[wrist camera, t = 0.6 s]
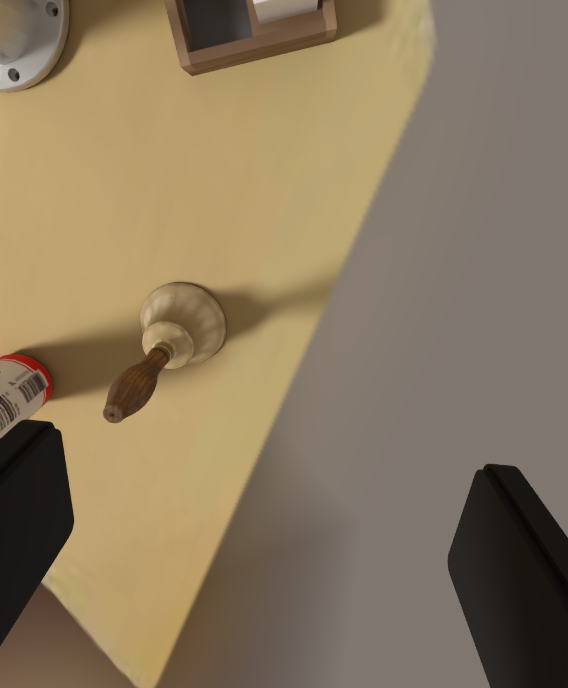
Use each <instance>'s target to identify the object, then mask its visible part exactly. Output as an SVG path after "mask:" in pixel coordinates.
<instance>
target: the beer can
mask: <svg viewBox="0 0 568 688" xmlns="http://www.w3.org/2000/svg"><path fill="white" fill-rule="evenodd" d="M52 389H53V388H52V380H51V378H50V376H49V374H48V372H47V370H46V369H45V368H44V367H43V366H42V365H41V364H40V363H39V362H37V361H36V360H34V359H32V358H30V357H27V356H25V355H19V354H10V355H5V356H2V357H0V438H1V437H3V436H4V435H5V434H6V433H7V432H8V431H9V430H10V429H11V428H13V427H14V426H15V425H16V424H17V423H18V422H20V421H21V420H25V419H27V420H28V419H29V418H30V417H31V416H32V415H34V414H35V413H36V412H37V411H38V410H39V409H40V408H41V407H42V406H43V405H44V404H45V403H46V402H47V401H48V399H49V398H50V396H51V393H52Z"/></svg>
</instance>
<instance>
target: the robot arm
mask: <svg viewBox="0 0 568 688" xmlns="http://www.w3.org/2000/svg"><path fill="white" fill-rule="evenodd" d="M57 10H58V14H57V15H56V11H57ZM68 26H69V0H0V92H14V91H20V90H24V89H26V88H28V87H31V86H33V85H35V84H37V83H38V82H39V81H41V80H42V79H43V78H44V77H46V76H47V75H48V74H49V72H50V71H51V70H52V68H53V67H54V66H55V65H56V63H57V61H58V59H59V57H60V55H61V53H62V51H63V49H64V45H65V41H66V37H67V33H68ZM19 75H20V78H19V77H18V76H19ZM73 525H74V515H73V508H72V501H71V495H70V488H69V481H68V475H67V468H66V461H65V455H64V448H63V441H62V435H61V432H60V430H58V429H55V427H54V425H53V423H51V422H48V421H37V420H27V419H25V420H21V421H20V422H18V423H17V424H16V425H15V426H14V427H13V428H11V429H10V430H9V431H8V432H7V433H6V434H5V435H4V436H3V437H1V438H0V646H1V644H2V642H3V641H4V639H5V638H6V636H7V635H8V633H9V631H10V630H11V628H12V627H13V625H14V623H15V622H16V620H17V619H18V617H19V616H20V614H21V612H22V611H23V609H24V608H25V606H26V604H27V603H28V601H29V600H30V598H31V596H32V595H33V593H34V592H35V590H36V589H37V587H38V585H39V584H40V582H41V581H42V579H43V578H44V576H45V574H46V573H47V571H48V570H49V568H50V566H51V565H52V563H53V562H54V560H55V558H56V557H57V555H58V554H59V552H60V551H61V549H62V547H63V546H64V544H65V543H66V541H67V539H68V538H69V536H70V534H71V532H72V529H73ZM448 570H449V573H450V576H451V579H452V582H453V585H454V587H455V590H456V593H457V596H458V598H459V601H460V604H461V607H462V609H463V612H464V615H465V618H466V621H467V623H468V626H469V629H470V632H471V635H472V637H473V640H474V643H475V646H476V649H477V651H478V654H479V657H480V659H481V662H482V665H483V668H484V671H485V674H486V676H487V679H488V682H489V685H490V688H568V538H567V536H566V535H565V534H564V532H563V530H562V529H561V528H560V526H559V525H558V523H557V522H556V521H555V519H554V518H553V516H552V515H551V514H550V512H549V511H548V510H547V508H546V507H545V505H544V504H543V502H542V501H541V500H540V498H539V497H538V495H537V494H536V493H535V491H534V490H533V488H532V487H531V486H530V484H529V483H528V481H527V480H526V479H525V477H524V476H523V474H522V473H521V472H520V470H519V469H518V468H517V467H515V466H508V465H498V464H486V465H485V466H484V468H483V470H478V471H477V472H476V474H475V476H474V479H473V482H472V485H471V488H470V491H469V494H468V497H467V500H466V503H465V506H464V509H463V512H462V515H461V518H460V521H459V524H458V527H457V530H456V533H455V536H454V539H453V543H452V545H451V548H450V551H449V554H448Z"/></svg>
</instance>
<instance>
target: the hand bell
mask: <svg viewBox="0 0 568 688" xmlns="http://www.w3.org/2000/svg"><path fill="white" fill-rule="evenodd" d="M140 323H141V328H142V332H143V339H142V346H143V350H144V352H145V354H146V357H145V359H144V360H143V361H142V362H141V363H140V364H137V365H134V366H132V367H130V368H129V369H127V370H126V371H124V372H123V373H122V374H121V375H120V376H119V377H118V378H117V379H116V380H115V381H114V383H113V384H112V386H111V388H110V390H109V393H108V397H107V402H106V406H105V408H104V410H103V416H104V418H105V419H106V420H107V421H108V422H110V423H119V422H121V421H122V420H123V419H125V418H126V417H128V416H130V415H132V414H134V413H136V412H137V411H139V410H140V409H141V408H142V407H143V406H144V405H145V404H146V403H147V402H148V401H149V399H150V398H151V396H152V394H153V392H154V390H155V387H156V384H157V376H158V374H159V372H160V371H161V370H162V369H163V368H166V369H176V368H179V367H182V366H184V365H185V364H193V363H198V362H202V361H204V360H207V359H208V358H210V357H212V356H213V355H214V354H215V353H216V352H217V351H218V350H219V349H220V347H221V346H222V344H223V342H224V339H225V335H226V322H225V317H224V314H223V311H222V309H221V307H220V305H219V304H218V302H217V301H216V300H215V299H214V298H213V297H212V296H211V295H210V294H208V293H207V292H206V291H205V290H203V289H201V288H199V287H196V286H194V285H191V284H186V283H170V284H167V285H163V286H161V287H159V288H157V289H156V290H154V291H153V292H152V293H151V294H150V295H149V296H148V297H147V299H146V300H145V302H144V304H143V306H142V309H141V315H140Z"/></svg>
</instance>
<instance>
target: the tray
mask: <svg viewBox="0 0 568 688" xmlns="http://www.w3.org/2000/svg"><path fill="white" fill-rule="evenodd" d="M164 1H165V5H166V9H167V13H168V17H169V21H170V25H171V29H172V34H173V38H174V42H175V46H176V50H177V54H178V58H179V62H180V66H181V68H183V69H184V70H185V71H186V72H187V73H189V74H190V75H191V76H194V75H198V74H202V73H206V72H210V71H215V70H219V69H223V68H227V67H231V66H235V65H239V64H243V63H247V62H251V61H255V60H260V59H264V58H268V57H272V56H276V55H280V54H284V53H288V52H292V51H296V50H300V49H304V48H309V47H313V46H317V45H321V44H325V43H329V42H333V41H334V39H335V35H336V31H337V23H336V14H335V6H334V0H318V5H317V10H315V11H311V12H307V13H303V14H299V15H295V16H291V17H288V18H284V19H280V20H276V21H272V22H268V23H264V24H259V20H258V17H257V14H256V10H255V7H254V3H253V0H164Z"/></svg>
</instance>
